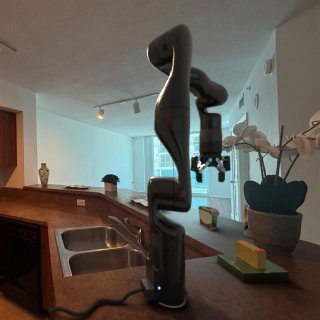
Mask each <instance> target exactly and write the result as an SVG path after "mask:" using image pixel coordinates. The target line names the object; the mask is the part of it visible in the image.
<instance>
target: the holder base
mask: <svg viewBox="0 0 320 320" xmlns="http://www.w3.org/2000/svg"><path fill="white" fill-rule="evenodd" d="M216 257H217V258H216V260H217V261H216V262H217V264H218V265H220V266H221V267H223V268H224V269H225V270H226V271H228V272H229V273H230V274H231V275H233V276H234V277H236V278H237V279H238V280H239V281H241V282H242V283H244V284H245V283H247V284H248V283H250V284H251V283H275V282H277V283H278V282H279V283H281V282H289V281H290V278H289V275H290V273H289V272H290V271H288V270H286V269H285V268H283V267H282V266H279V265H278V264H275V263H274V262H273V261H270V260H268V259H266V269H256V268H254V267H253V266H251V265H250V264H248V263H246V262H245V261H243V260H242V259H240V258H238V257H237V256H236V252H234V253H226V254H225V253H223V254H217V256H216Z"/></svg>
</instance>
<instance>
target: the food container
mask: <svg viewBox="0 0 320 320" xmlns="http://www.w3.org/2000/svg"><path fill="white" fill-rule="evenodd" d="M218 216H220V211H219V209H217V208H215V207H211V206H205V205H199V206H198V218H199V225H200V226H202V227H203V228H206V230H208V231H210V232H215V231H216V230H217V226H218Z"/></svg>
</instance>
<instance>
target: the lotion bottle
mask: <svg viewBox="0 0 320 320" xmlns="http://www.w3.org/2000/svg"><path fill="white" fill-rule="evenodd" d="M247 207H248V205H247V202H246V203H245V202H244V204H243V235H244V236H245V237H247V238H250V239H252V238H251V236H250V233H249V228H248V222H247Z"/></svg>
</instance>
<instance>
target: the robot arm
mask: <svg viewBox="0 0 320 320" xmlns="http://www.w3.org/2000/svg"><path fill="white" fill-rule="evenodd" d="M193 44H194V43H193V36H192V32H191V29H190V27H189V26H188V25H187V24H185V23H179V24H177V25H175V26H172V27H171V28H169V29H167V30H166V31H164V32H162V33H161V34H159V35H157V36H156V37H154V38H153V39H151V41H149V43H148V44H147V48H146V55H147V59H148V61H149V63H150V65H151V66H152V67H153V68H154V69H156V70H157V71H158V72H159V73H162V74H163V75H165V76H166V77H168V79H167V80H166V83H165V85H164V87H163V88H162V90H161V92H160V94H159V96H158V98H157V99H156V102H155V104H154V108H153V132H154V134H155V136H156V138H157V139H158V141H159V142H160V144H161V145H162V146H163V147H164V149H165V150H166V152H167V153H168V155H169V156H170V158H171V161H172V162H173V164H174V166H175V169H176V172H177V176H162V175H161V176H159V175H158V176H157V175H155V176H154V175H153V176H150V177H149V179H148V181H147V183H146V184H147V186H146V199H147V201H146V202H147V216H148V217H147V220H148V221H147V223H148V256H147V257H145V277H140V278H139V279H140V281H139V282H140V284H139V285H140V287H138V288H135V289H133V290H130V291H128V292H126V294H125V295H123V296H122V298H118V299H113V298H107V297H106V298H103V297H102V298H98V299H96V300H95V301H93V302H92V303H91V305H90V306H89V307H88V308H87V309H85V310H83V311H74V310H72V309H69V308H66V307H64V306H55V307H52V309H50V310H49V311H48V315H53V314H54V313H56V312H63V313H64V314H67V315H70V316H72V317H84V316H86V315H88V314H89V313H90V312H92V311H93V310H94V308H95V307H96V306H97V305H100V304H102V303H107V304H108V303H109V304H114V305H115V304H116V305H117V304H122V303H124V302H126V301H127V300H128V298H129V297H131V296H133V295H135V294H139V293H142V294H143V297H144V298H145V300H146V301H152V303H153V305H155V306H160V307H162V308H166V309H168V310H169V309H170V310H179V309H182V308H183V307H185V305H186V303H187V297H188V291H187V289H186V229H185V226H184V225H183V224H182V223H180V222H178V221H176V220H174V219H172V218H170V217H168V216H167V215H165V214H164V212H162V211H165V212H173V213H181V214H182V213H185V214H186V213H188V212H190V210H191V208H192V203H193V190H192V174H191V173H192V172H194V173H195V181H196V182H197V183H199V184H202V183H203V172H204V170H206V169H207V168H215V169H216V170H217V172H218V173H217V182H218V183H225V181H226V173H227V172H230V171H231V170H232V169H231V168H232V167H231V156H230V155H222V153H223V129H222V127H223V125H222V124H223V119H222V117H223V116H222V113H220V112H209V110H208V109H209V108H216V107H221V106H223V105H224V104H226V103H227V101H228V100H229V91H228V90H227V88H226V87H225V86H223V85H222V84H220V83H218V82H216V81H214V80H212V79H211V78H210V77H209V76H208V75H207V73H206V72H205V71H204V70H202V69H201V68H198V67H196V66H192V59H193V49H194V48H193V47H194V46H193ZM190 94H191V95H192V96H193V97H194V105H195V107H196V110H197V114H198V117H199V118H198V119H199V133H198V134H199V135H198V153H199V155H191V157H190V145H191V144H190V143H191V142H190V141H191V95H190Z"/></svg>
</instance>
